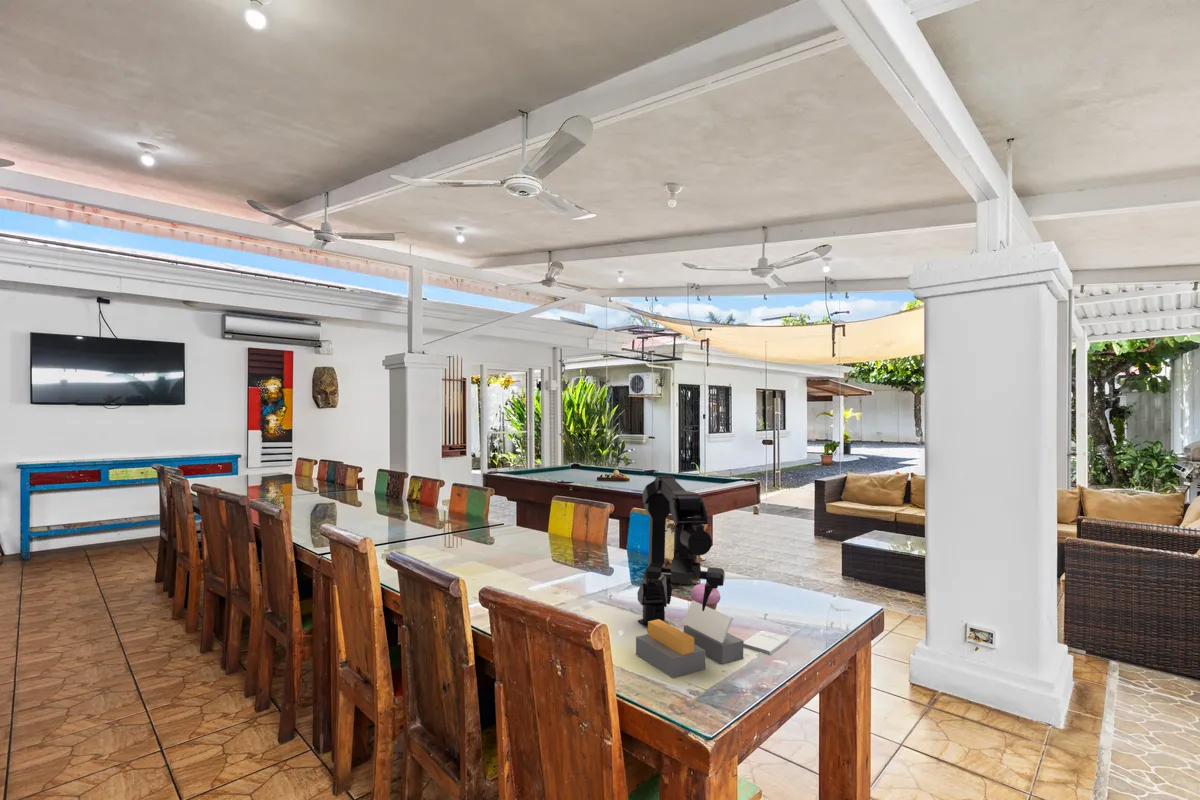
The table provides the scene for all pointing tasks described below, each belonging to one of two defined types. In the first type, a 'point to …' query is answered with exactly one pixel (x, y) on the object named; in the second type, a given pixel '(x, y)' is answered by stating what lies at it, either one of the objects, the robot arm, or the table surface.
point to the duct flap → (708, 621)
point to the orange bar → (671, 636)
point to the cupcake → (698, 596)
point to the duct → (691, 662)
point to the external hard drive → (765, 642)
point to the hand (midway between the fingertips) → (684, 608)
